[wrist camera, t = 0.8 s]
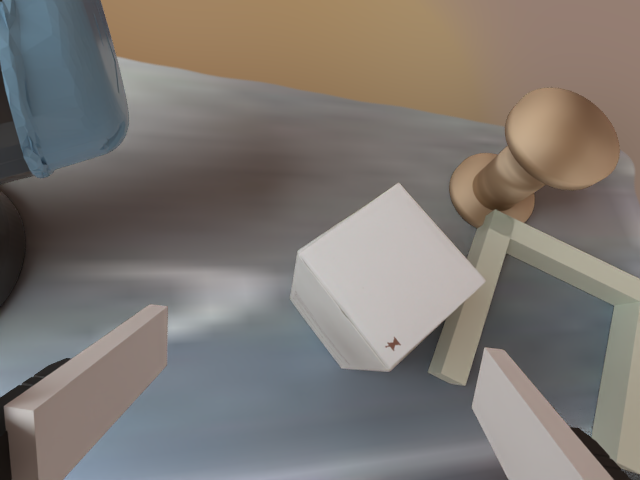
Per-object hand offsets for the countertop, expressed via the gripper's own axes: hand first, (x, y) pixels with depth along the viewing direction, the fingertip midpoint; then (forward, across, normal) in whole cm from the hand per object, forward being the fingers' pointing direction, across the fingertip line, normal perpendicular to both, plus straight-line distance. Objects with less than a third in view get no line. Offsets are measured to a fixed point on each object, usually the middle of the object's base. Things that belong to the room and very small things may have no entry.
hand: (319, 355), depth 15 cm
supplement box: (+15, +2, -4) cm, 16 cm away
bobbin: (+23, +14, +6) cm, 28 cm away
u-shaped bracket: (+17, +18, -5) cm, 25 cm away
